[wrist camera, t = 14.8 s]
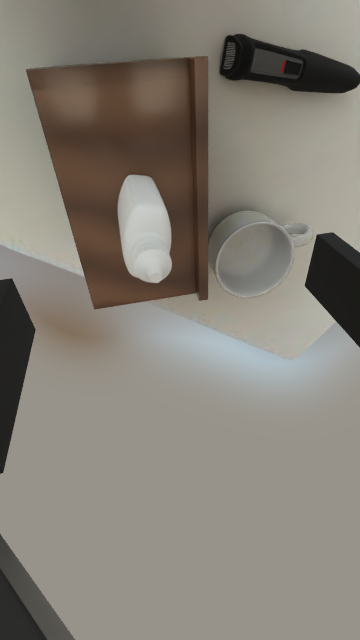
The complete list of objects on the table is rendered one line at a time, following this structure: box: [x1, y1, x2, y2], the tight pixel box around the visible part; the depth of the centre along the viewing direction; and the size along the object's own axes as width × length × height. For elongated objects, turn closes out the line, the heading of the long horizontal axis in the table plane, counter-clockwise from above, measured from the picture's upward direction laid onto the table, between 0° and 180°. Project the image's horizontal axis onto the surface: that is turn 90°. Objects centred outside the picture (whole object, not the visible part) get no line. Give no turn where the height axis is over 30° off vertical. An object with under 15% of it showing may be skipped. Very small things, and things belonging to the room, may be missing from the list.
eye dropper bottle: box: [118, 175, 172, 283], centre depth 24 cm, size 4×6×12 cm
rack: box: [26, 56, 208, 309], centre depth 33 cm, size 20×12×16 cm, turn 3°
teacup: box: [208, 211, 313, 298], centre depth 45 cm, size 14×11×8 cm
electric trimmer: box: [220, 34, 360, 93], centre depth 35 cm, size 4×16×3 cm, turn 81°
